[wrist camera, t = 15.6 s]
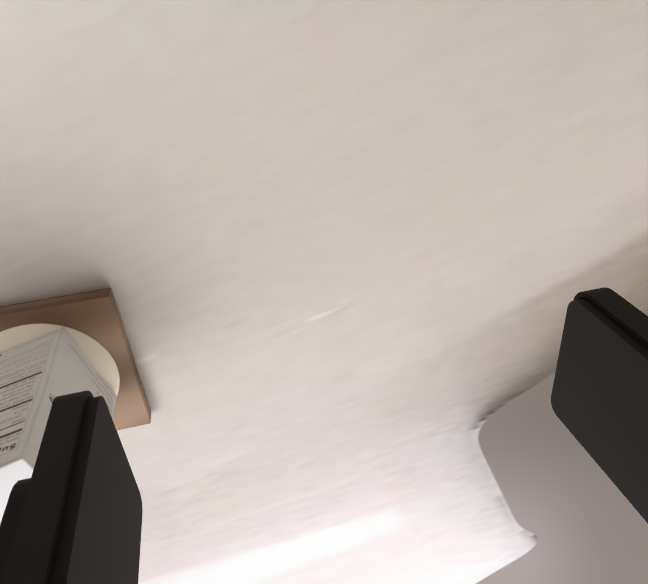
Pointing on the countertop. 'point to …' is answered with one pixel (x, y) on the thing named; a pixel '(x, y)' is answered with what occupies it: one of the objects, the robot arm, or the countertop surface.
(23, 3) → the countertop surface
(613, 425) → the robot arm
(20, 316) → the board
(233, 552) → the countertop surface
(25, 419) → the supplement box
